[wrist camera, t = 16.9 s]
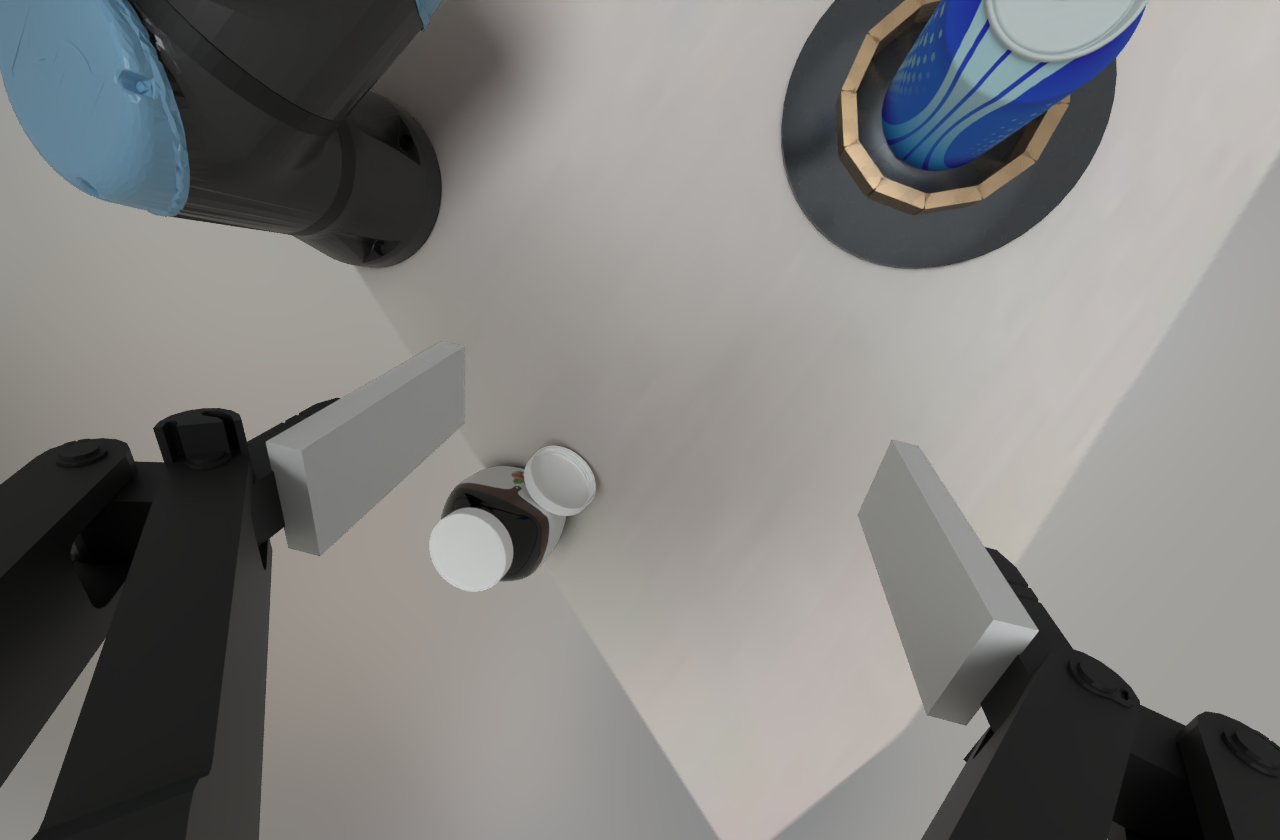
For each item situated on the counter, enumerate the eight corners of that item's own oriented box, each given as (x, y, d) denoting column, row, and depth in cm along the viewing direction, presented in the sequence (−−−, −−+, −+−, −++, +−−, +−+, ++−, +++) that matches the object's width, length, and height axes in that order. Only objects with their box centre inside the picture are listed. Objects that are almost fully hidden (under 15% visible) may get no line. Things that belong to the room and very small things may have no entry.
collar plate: (735, 208, 42) (733, 199, 39) (866, -100, 36) (878, -142, 33) (994, 312, 40) (1017, 312, 36) (1179, 0, 34) (1227, -34, 30)
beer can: (941, 199, 38) (1071, 122, 23) (852, 132, 38) (921, 11, 23) (1031, 94, 36) (1246, -71, 20) (936, 23, 36) (1075, -192, 21)
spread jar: (475, 516, 53) (403, 570, 42) (500, 417, 50) (429, 447, 39) (579, 559, 52) (533, 626, 41) (611, 459, 49) (570, 503, 38)
